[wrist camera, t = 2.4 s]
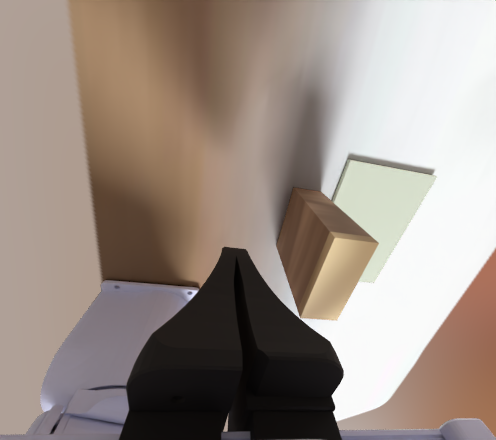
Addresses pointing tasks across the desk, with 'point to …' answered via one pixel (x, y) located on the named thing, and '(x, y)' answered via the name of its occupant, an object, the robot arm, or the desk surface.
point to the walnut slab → (322, 254)
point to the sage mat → (381, 205)
